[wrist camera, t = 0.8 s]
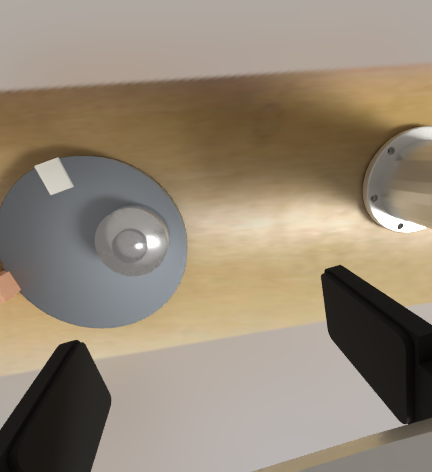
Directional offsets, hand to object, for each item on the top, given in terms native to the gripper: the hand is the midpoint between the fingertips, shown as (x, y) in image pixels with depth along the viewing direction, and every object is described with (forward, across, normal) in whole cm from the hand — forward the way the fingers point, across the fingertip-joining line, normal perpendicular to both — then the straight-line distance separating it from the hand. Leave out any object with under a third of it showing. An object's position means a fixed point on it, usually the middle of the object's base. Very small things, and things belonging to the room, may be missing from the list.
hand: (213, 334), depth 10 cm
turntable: (+21, +14, +1) cm, 25 cm away
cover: (+19, +6, 0) cm, 20 cm away
